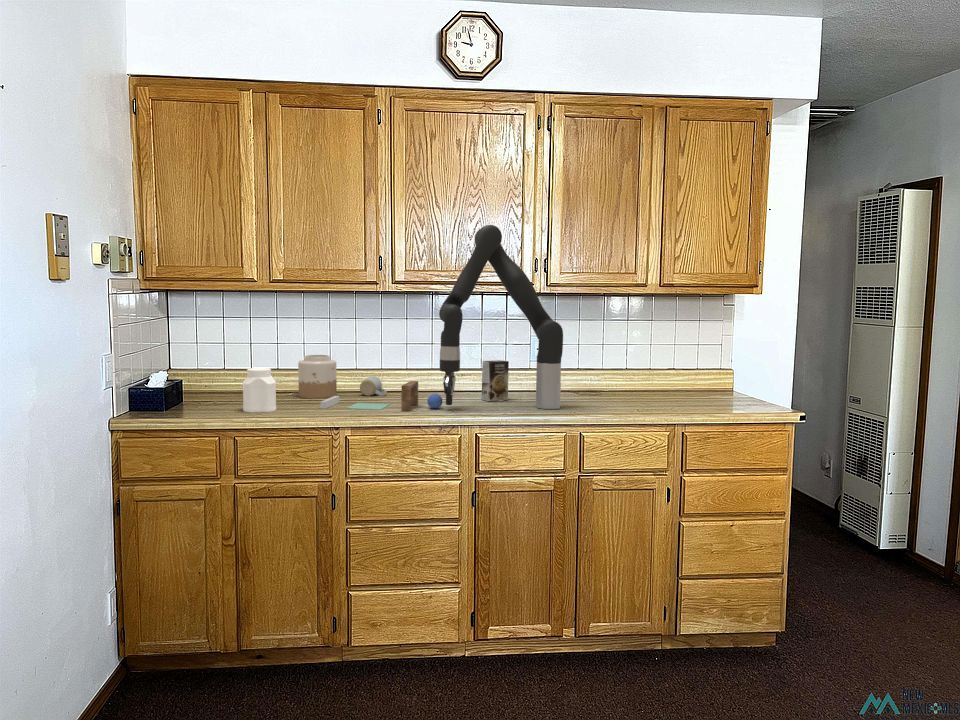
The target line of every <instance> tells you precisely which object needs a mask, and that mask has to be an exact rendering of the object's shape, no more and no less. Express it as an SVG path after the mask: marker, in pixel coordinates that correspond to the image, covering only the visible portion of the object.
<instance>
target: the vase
mask: <svg viewBox="0 0 960 720" xmlns="http://www.w3.org/2000/svg"><path fill="white" fill-rule="evenodd" d="M297 365H298V367H297V368H298V374H297V375H298V379H297V380H298V397H300V398H301V399H310V400H312V399H313V400H316V399H317V400H319V399H322V400H325V399H328V398H331V397H333V396H338V395H337V392H338V390H337V385H338V384H337V383H338V382H337V361H336V360H333V359H331V357H330V355H327V354H308V355H305V356H304V360H299V361H298V363H297Z"/></svg>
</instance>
